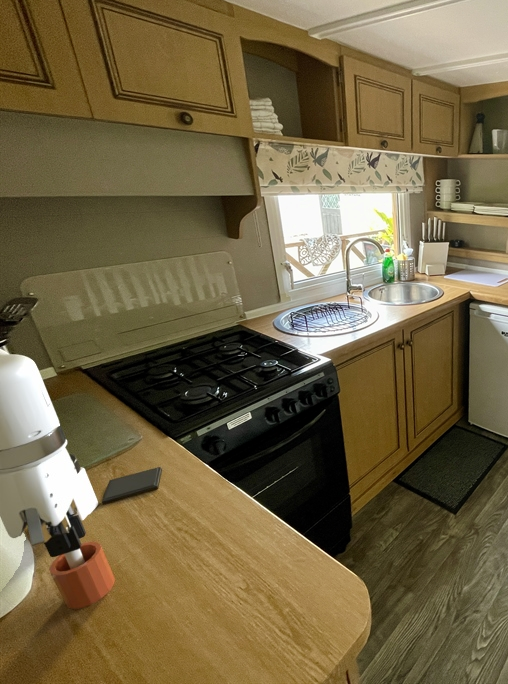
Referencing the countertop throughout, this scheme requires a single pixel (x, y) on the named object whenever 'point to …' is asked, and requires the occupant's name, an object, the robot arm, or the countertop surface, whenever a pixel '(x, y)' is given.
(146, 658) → the countertop surface
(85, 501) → the jar
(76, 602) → the pen pot
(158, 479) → the tablet
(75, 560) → the stylus
